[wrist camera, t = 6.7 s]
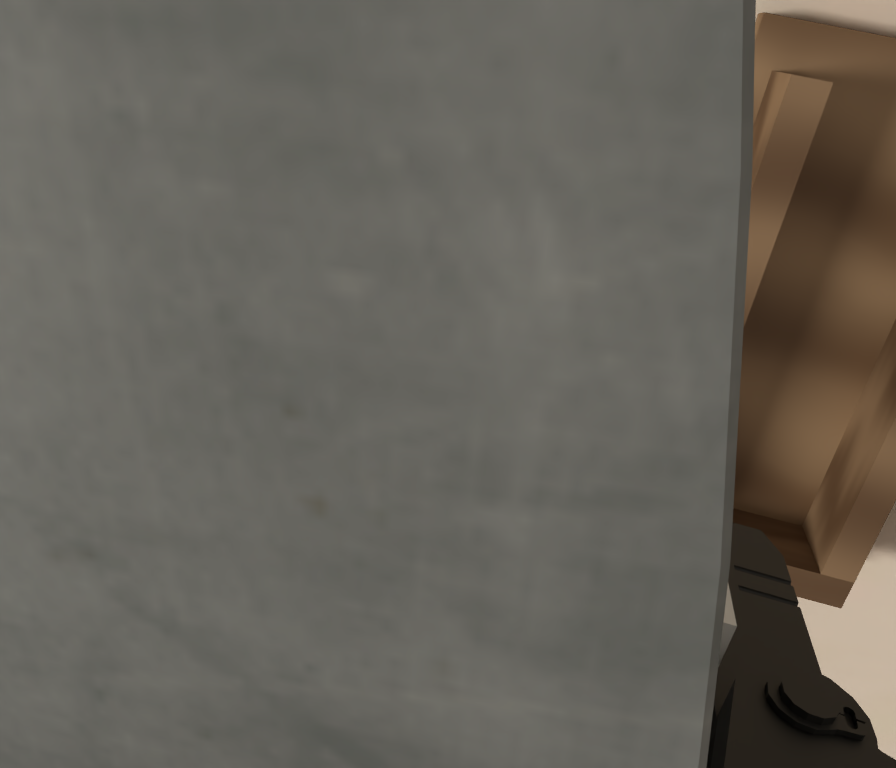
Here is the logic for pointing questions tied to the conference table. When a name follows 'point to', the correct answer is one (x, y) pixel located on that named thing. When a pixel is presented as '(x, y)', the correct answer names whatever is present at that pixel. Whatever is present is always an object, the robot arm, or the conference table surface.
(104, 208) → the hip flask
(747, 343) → the u rest
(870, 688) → the conference table surface
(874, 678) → the conference table surface
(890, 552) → the conference table surface
